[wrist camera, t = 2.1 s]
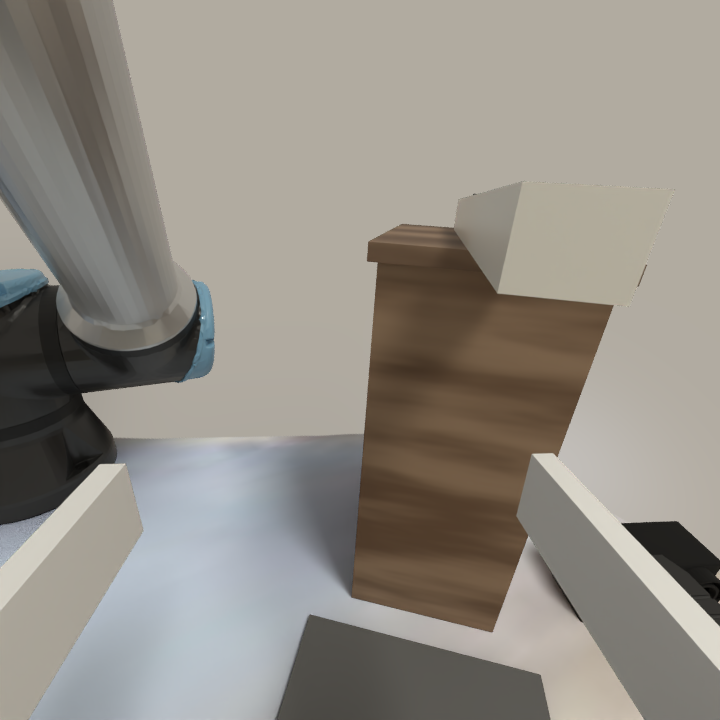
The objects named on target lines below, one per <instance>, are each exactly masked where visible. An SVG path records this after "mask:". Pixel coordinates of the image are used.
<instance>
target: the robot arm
mask: <svg viewBox="0 0 720 720" xmlns="http://www.w3.org/2000/svg"><path fill="white" fill-rule="evenodd" d="M0 199H1V201H2V202H3V203H4V205H5V206H6V208H7V209H8V211H9V212H10V213H11V215H12V216H13V218H14V219H15V221H16V222H17V223H18V225H19V226H20V228H21V229H22V231H23V232H24V233H25V235H26V236H27V238H28V239H29V240H30V242H31V243H32V245H33V246H34V248H35V249H36V250H37V251H38V253H39V255H40V256H41V258H42V259H43V260H44V262H45V263H46V265H47V266H48V268H49V269H50V270H51V272H52V273H53V275H54V276H55V277H56V279H57V280H58V282H59V283H60V285H57V286H50V285H48V282H49V281H48V278H46V277H45V276H44V274H43V273H42V272H41V271H39V270H35V269H11V270H0V524H5V523H10V522H15V521H19V520H23V519H27V518H30V517H33V516H36V515H39V514H42V513H44V512H47V511H49V510H52V509H54V508H56V507H58V508H57V509H56V510H55V511H54V512H53V513H52V515H51V516H50V517H49V518H48V519H47V520H46V521H45V522H44V523H43V524H42V525H41V526H40V527H39V528H38V529H37V530H36V531H35V532H34V533H33V534H32V535H31V536H30V538H29V539H28V540H27V541H26V542H25V543H24V544H23V545H22V546H21V547H20V548H19V549H18V550H17V551H16V552H15V553H14V554H13V555H12V556H11V557H10V558H9V559H8V560H7V562H6V563H5V564H4V565H3V566H2V567H1V568H0V720H28V719H29V718H30V716H31V714H32V713H33V711H34V710H35V708H36V706H37V705H38V703H39V701H40V700H41V698H42V696H43V695H44V693H45V691H46V690H47V688H48V687H49V685H50V683H51V682H52V680H53V678H54V677H55V675H56V673H57V672H58V670H59V668H60V667H61V665H62V664H63V662H64V660H65V659H66V657H67V655H68V654H69V652H70V650H71V649H72V647H73V646H74V644H75V642H76V641H77V639H78V637H79V636H80V634H81V632H82V631H83V629H84V627H85V626H86V624H87V623H88V621H89V619H90V618H91V616H92V614H93V613H94V611H95V609H96V608H97V606H98V604H99V603H100V601H101V600H102V598H103V596H104V595H105V593H106V591H107V590H108V588H109V586H110V585H111V583H112V582H113V580H114V578H115V577H116V575H117V573H118V572H119V570H120V568H121V567H122V565H123V563H124V562H125V560H126V559H127V557H128V555H129V554H130V552H131V550H132V549H133V547H134V545H135V544H136V542H137V540H138V539H139V537H140V536H141V534H142V532H143V531H144V530H143V527H142V523H141V519H140V515H139V511H138V508H137V504H136V500H135V496H134V492H133V489H132V485H131V481H130V477H129V473H128V470H127V466H126V464H114V462H115V460H116V456H117V449H116V446H115V442H114V439H113V436H112V434H111V432H110V431H109V430H108V429H107V427H106V426H105V425H104V424H103V423H102V421H101V420H100V419H99V418H98V417H97V416H96V415H95V413H94V412H93V411H92V410H91V409H90V408H89V407H88V406H87V404H86V403H85V402H84V400H83V397H82V394H81V393H88V392H95V391H103V390H111V389H119V388H127V387H135V386H143V385H151V384H159V383H166V382H177V383H179V382H183V381H186V380H188V379H194V378H200V377H203V376H205V375H207V374H208V373H209V372H210V370H211V369H212V365H213V361H214V316H213V307H212V300H211V295H210V291H209V289H208V287H207V286H206V285H205V284H204V283H203V282H196V281H194V280H191V278H190V276H189V275H188V274H187V272H186V271H185V270H184V269H183V268H182V267H181V266H179V265H178V264H177V263H175V262H174V261H173V260H172V256H171V252H170V247H169V243H168V239H167V235H166V230H165V226H164V222H163V217H162V213H161V208H160V204H159V200H158V195H157V191H156V186H155V182H154V178H153V173H152V169H151V165H150V160H149V157H148V152H147V147H146V143H145V139H144V134H143V130H142V126H141V121H140V117H139V113H138V109H137V104H136V99H135V95H134V91H133V87H132V83H131V78H130V73H129V69H128V65H127V61H126V56H125V52H124V48H123V43H122V39H121V34H120V30H119V26H118V21H117V18H116V13H115V8H114V5H113V0H0ZM516 516H517V518H518V520H519V521H520V523H521V524H522V526H523V528H524V529H525V531H526V532H527V534H528V535H529V537H530V539H531V540H532V542H533V543H534V545H535V547H536V548H537V550H538V551H539V553H540V555H541V556H542V558H543V559H544V561H545V563H546V564H547V566H548V567H549V569H550V570H551V572H552V574H553V575H554V577H555V578H556V580H557V582H558V583H559V585H560V586H561V588H562V590H563V591H564V593H565V594H566V596H567V597H568V599H569V601H570V602H571V604H572V605H573V607H574V609H575V610H576V612H577V613H578V615H579V617H580V618H581V620H582V621H583V623H584V625H585V626H586V628H587V629H588V631H589V632H590V634H591V636H592V637H593V639H594V640H595V642H596V644H597V645H598V647H599V648H600V650H601V652H602V653H603V655H604V656H605V658H606V659H607V661H608V663H609V664H610V666H611V667H612V669H613V671H614V672H615V674H616V675H617V677H618V679H619V680H620V682H621V683H622V685H623V686H624V688H625V690H626V691H627V693H628V694H629V696H630V698H631V699H632V701H633V702H634V704H635V706H636V707H637V709H638V710H639V712H640V714H641V715H642V717H643V718H644V720H720V604H719V603H718V602H717V601H716V600H715V599H712V598H711V597H710V594H709V593H708V592H707V591H706V590H705V589H704V588H703V587H702V586H701V585H700V584H699V583H698V582H697V581H696V580H695V579H694V578H693V577H692V576H691V575H690V574H689V573H688V572H686V571H685V570H683V569H682V568H680V567H679V566H677V565H676V564H675V563H673V562H672V561H670V560H669V559H667V558H666V557H664V556H663V555H651V554H650V553H649V552H648V551H647V550H646V549H645V548H644V547H643V546H642V545H641V544H640V543H639V542H638V541H637V540H636V539H635V538H634V537H633V536H632V535H631V534H630V533H629V532H628V531H627V530H626V528H625V527H624V526H623V525H622V524H621V523H620V522H619V521H618V520H617V519H616V518H615V517H614V516H613V515H612V514H611V513H610V512H609V511H608V510H607V509H606V508H605V507H604V506H603V505H602V503H601V502H600V501H599V500H597V498H596V497H595V496H594V495H593V494H592V493H591V492H590V491H589V490H588V489H587V488H586V487H585V486H584V485H583V484H582V483H581V482H580V481H579V480H578V479H577V478H576V476H575V475H574V474H573V473H572V472H571V471H570V470H569V469H568V468H567V467H566V466H565V465H564V464H563V463H562V462H561V461H560V460H559V459H558V458H557V457H556V456H555V455H554V453H542V454H532V455H531V459H530V463H529V467H528V471H527V475H526V479H525V483H524V487H523V491H522V495H521V499H520V503H519V507H518V511H517V515H516Z"/></svg>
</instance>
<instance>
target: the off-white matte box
mask: <svg viewBox="0 0 720 720" xmlns="http://www.w3.org/2000/svg"><path fill="white" fill-rule="evenodd" d="M674 191H675V189H660V188H640V187H621V186H602V185H583V184H564V183H545V182H526V181H522V182H519V183H515V184H511V185H508V186H504V187H501V188H497V189H494V190H491V191H487V192H483V193H480V194H473V195H472V196H469V197H466V198H462V199H459V200H458V206H457V212H456V219H455V225H454V230H455V232H456V233H457V235H458V236H459V238H460V239H461V241H462V242H463V244H464V245H465V247H466V248H467V250H468V251H469V252H470V254H471V255H472V257H473V258H474V260H475V261H476V263H477V264H478V266H479V267H480V269H481V270H482V272H483V273H484V274H485V276H486V277H487V279H488V280H489V282H490V283H491V285H492V286H493V288H494V289H495V291H496V292H497V293H499V294H508V295H518V296H528V297H538V298H548V299H558V300H568V301H577V302H587V303H597V304H607V305H617V306H627V307H629V306H630V304H631V301H632V299H633V296H634V293H635V291H636V288H637V286H638V283H639V281H640V278H641V276H642V273H643V271H644V268H645V265H646V263H647V260H648V258H649V255H650V252H651V250H652V247H653V245H654V242H655V240H656V237H657V235H658V232H659V230H660V227H661V224H662V222H663V219H664V217H665V214H666V211H667V209H668V206H669V204H670V201H671V199H672V196H673V194H674Z"/></svg>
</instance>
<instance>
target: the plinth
mask: <svg viewBox="0 0 720 720" xmlns="http://www.w3.org/2000/svg"><path fill="white" fill-rule="evenodd" d="M367 261H368V262H378V266H377V279H376V292H375V304H374V316H373V329H372V343H371V356H370V368H369V381H368V393H367V407H366V420H365V431H364V444H363V457H362V470H361V482H360V495H359V508H358V521H357V534H356V546H355V559H354V572H353V585H352V598H356V599H360V600H364V601H368V602H372V603H376V604H380V605H384V606H388V607H392V608H396V609H401V610H405V611H409V612H413V613H417V614H421V615H425V616H429V617H433V618H437V619H441V620H445V621H449V622H453V623H457V624H461V625H465V626H469V627H473V628H477V629H481V630H485V631H489V632H493V629H494V627H495V624H496V621H497V618H498V616H499V613H500V610H501V608H502V605H503V602H504V600H505V597H506V594H507V592H508V589H509V586H510V583H511V581H512V578H513V575H514V573H515V570H516V567H517V565H518V562H519V559H520V556H521V554H522V551H523V548H524V546H525V543H526V540H527V538H528V534H527V532H526V531H525V529H524V528H523V526H522V524H521V523H520V521H519V520H518V518H517V516H516V515H517V511H518V507H519V503H520V499H521V495H522V491H523V487H524V483H525V479H526V475H527V471H528V467H529V463H530V459H531V455H532V454H542V453H554V455H555V456H556V457H558V454H559V451H560V449H561V446H562V443H563V441H564V438H565V435H566V432H567V430H568V427H569V424H570V422H571V419H572V416H573V414H574V411H575V408H576V406H577V403H578V400H579V397H580V395H581V392H582V389H583V387H584V384H585V381H586V379H587V375H588V373H589V370H590V368H591V365H592V362H593V360H594V357H595V354H596V352H597V349H598V346H599V343H600V341H601V338H602V335H603V333H604V330H605V327H606V325H607V322H608V319H609V316H610V314H611V311H612V308H613V306H614V305H607V304H597V303H587V302H577V301H568V300H558V299H548V298H538V297H528V296H518V295H508V294H499V293H497V292H496V291H495V289H494V288H493V286H492V285H491V283H490V282H489V280H488V279H487V277H486V276H485V274H484V273H483V272H482V270H481V269H480V267H479V266H478V264H477V263H476V261H475V260H474V258H473V257H472V255H471V254H470V252H469V251H468V250H467V248H466V247H465V245H464V244H463V242H462V241H461V239H460V238H459V236H458V235H457V233H456V232H455V230H454V228H449V227H434V226H421V225H409V224H401V225H399V226H397V227H395V228H393V229H392V230H390V231H388V232H386V233H384V234H382V235H380V236H378V237H376V238H374V239H372V240H370V241H369V242H368V255H367ZM646 266H647V265H645V268H644V271H645V269H646ZM644 271H643V273H642V276H643V274H644ZM642 276H641V278H640V281H639V283H638V286H639V284H640V282H641V279H642ZM638 286H637V287H638Z"/></svg>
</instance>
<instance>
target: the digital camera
mask: <svg viewBox="0 0 720 720" xmlns="http://www.w3.org/2000/svg"><path fill="white" fill-rule="evenodd" d="M621 524H622V525H623V526H624V527H625V528H626V530H627V531H628V532H629V533H630V534H631V535H632V536H633V537H634V538H635V539H636V540H637V541H638V542H639V543H640V544H641V545H642V546H643V547H644V548H645V549H646V550H647V551H648V552H649V553H650V554H651V555H663V556H664V557H666V558H667V559H669V560H670V561H672V562H673V563H675V564H676V565H677V566H679V567H680V568H682V569H683V570H685V571H686V572H688V573H689V574H690V575H691V576H692V577H693V578H694V579H695V580H696V581H697V582H698V583H699V584H700V585H701V586H702V587H703V588H704V589H705V590H706V591H707V592H708V593H709V594H710V597H711V598H712V599H715V600H716V601H717V602H719V601H720V580H719V579H718V578H717V577H716V576H715V575H716V574H717V572H718V571H719V569H720V560H719V559H718V558H717V557H716V556H715V555H714V554H712V553H711V552H710V551H709V550H708V549H707V548H706V547H705V546H704V545H703V544H701V543H700V542H699V541H698V540H697V539H696V538H695V537H694V536H693V535H692V534H691V533H690V532H688V531H687V530H686V529H685V528H684V527H683V526H682V525H681V524H680V523H679V522H677V521H674V522H673V521H671V522H643V523H621ZM553 577H554V575H553ZM554 579H555V580H556V578H555V577H554ZM556 582H557V580H556ZM557 583H558V582H557ZM558 585H559V583H558ZM559 587H560V588H561V586H560V585H559ZM561 590H562V588H561ZM562 592H563V593H564V591H563V590H562ZM564 595H565V597H566V598H567V600H568V602H569V603H570V605H571V606H572V608H573V610H574V611H575V613H576V615H577V616H578V618H579V620H580V621H581V622H583V621H582V620H581V618H580V617H579V615H578V613H577V612H576V610H575V609H574V607H573V605H572V604H571V602H570V601H569V599H568V597H567V596H566V594H565V593H564Z"/></svg>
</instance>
